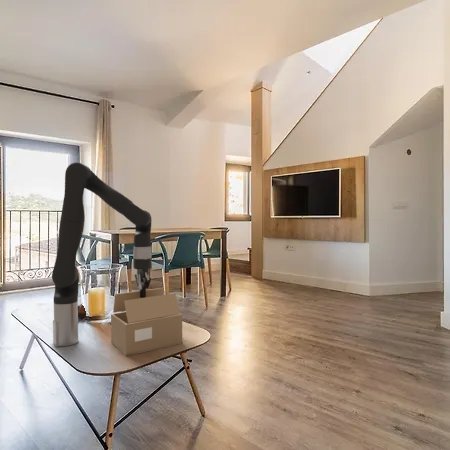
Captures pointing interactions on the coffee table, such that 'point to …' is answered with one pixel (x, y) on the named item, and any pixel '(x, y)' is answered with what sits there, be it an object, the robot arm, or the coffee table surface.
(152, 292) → the far flap
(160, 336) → the carton
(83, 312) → the decorative turtle
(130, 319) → the near flap
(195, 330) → the coffee table surface
